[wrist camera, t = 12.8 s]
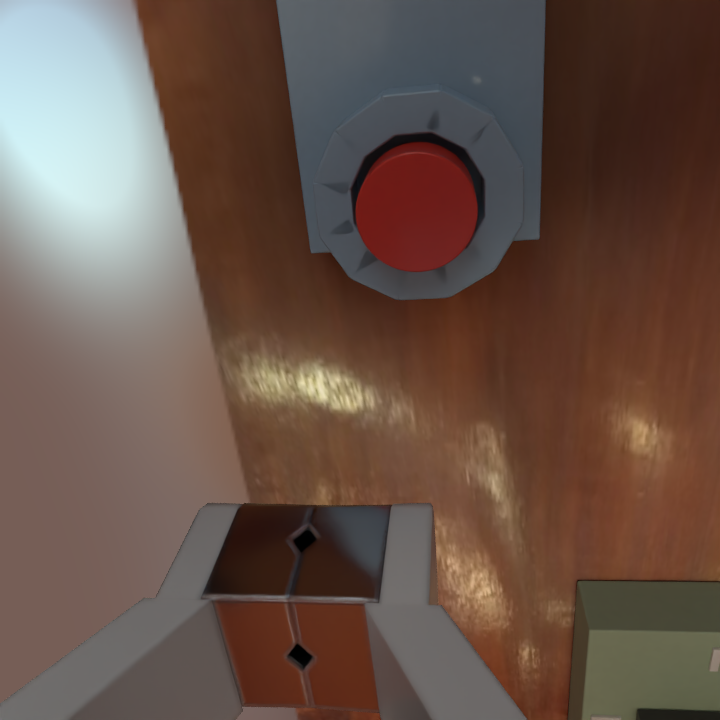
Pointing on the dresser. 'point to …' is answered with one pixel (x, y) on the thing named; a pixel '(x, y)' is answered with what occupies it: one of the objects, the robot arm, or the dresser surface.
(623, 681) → the handle panel
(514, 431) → the dresser surface
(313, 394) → the dresser surface
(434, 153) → the button
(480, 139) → the button box
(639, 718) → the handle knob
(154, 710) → the robot arm
